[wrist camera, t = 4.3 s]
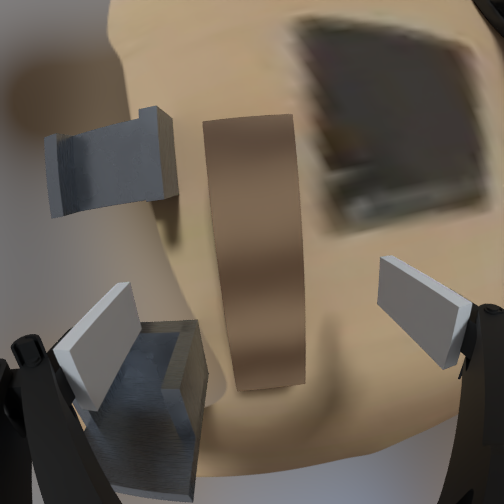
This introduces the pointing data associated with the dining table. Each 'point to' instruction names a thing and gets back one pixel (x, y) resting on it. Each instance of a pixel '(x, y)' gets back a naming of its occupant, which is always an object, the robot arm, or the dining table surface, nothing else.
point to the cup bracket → (153, 414)
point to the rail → (259, 246)
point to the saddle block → (112, 164)
